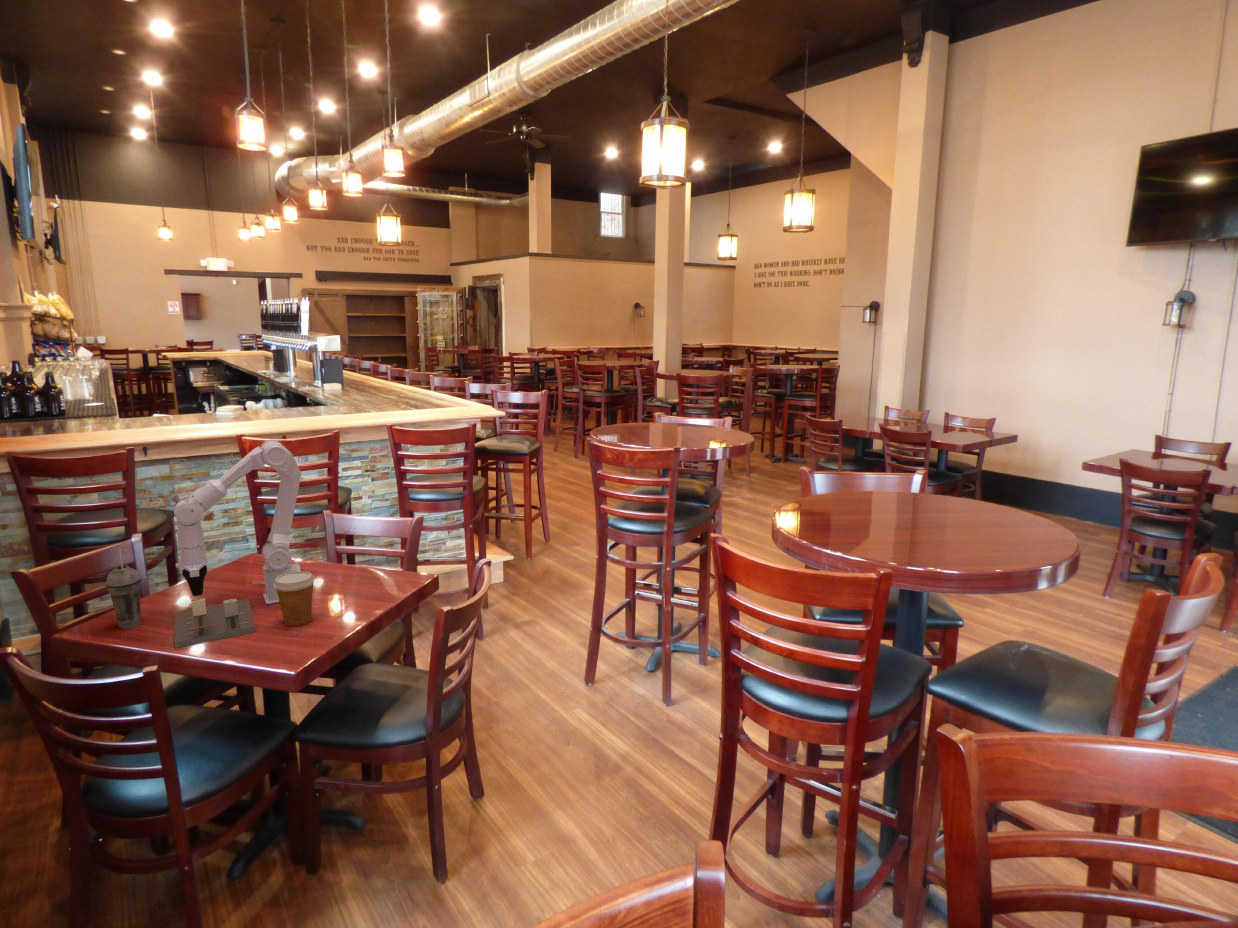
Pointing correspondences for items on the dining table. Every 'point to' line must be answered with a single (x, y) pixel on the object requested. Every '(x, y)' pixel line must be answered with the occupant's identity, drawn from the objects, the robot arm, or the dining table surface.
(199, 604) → the fader cap ivory
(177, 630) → the mixing console
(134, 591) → the beverage cup
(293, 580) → the disposable coffee cup
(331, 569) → the dining table surface
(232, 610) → the fader cap grey
